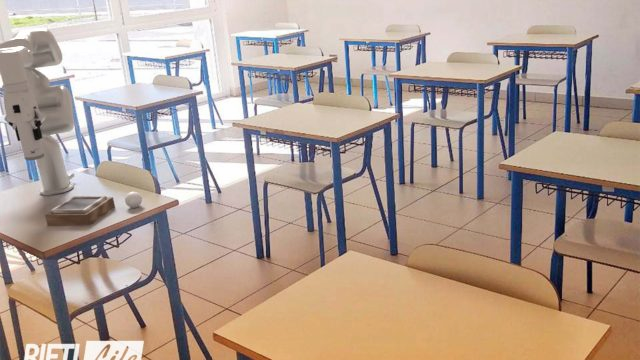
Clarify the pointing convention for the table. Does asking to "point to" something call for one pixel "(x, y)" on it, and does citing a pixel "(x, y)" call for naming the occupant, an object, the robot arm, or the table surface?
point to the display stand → (80, 211)
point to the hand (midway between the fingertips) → (30, 139)
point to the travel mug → (27, 137)
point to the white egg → (133, 199)
